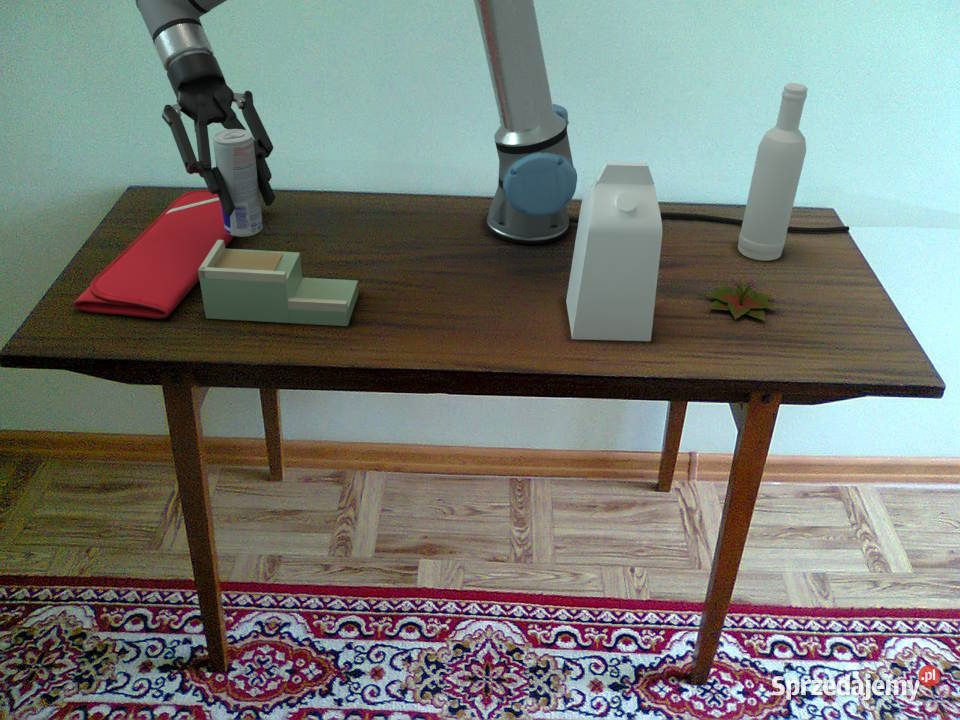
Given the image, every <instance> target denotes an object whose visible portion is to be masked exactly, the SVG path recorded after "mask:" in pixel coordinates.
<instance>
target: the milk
mask: <svg viewBox="0 0 960 720" xmlns="http://www.w3.org/2000/svg"><path fill="white" fill-rule="evenodd" d="M580 203H581V204H580V210H579V216H578V218H579V222H578V223H577V229H576V235H575V242H574V249H573V253H572V261H571V268H570V274H569V281H568V286H567V292H566V299H565V302H566V310H567V316H568V322H569V329H570V336H571V340H581V341H582V340H583V341H584V340H586V341H592V340H593V341H621V342H622V341H623V342H624V341H625V342H651V341H652V335H653V323H654V315H655V306H656V298H657V297H656V295H657V287H658V278H659V268H660V261H661V260H660V259H661V250H662V243H663V242H662V241H663V221H662V217H661V215H660V213H661V209H660V205H659V200H658V194H657V190H656V186H655V182H654V179H653V176H652V173H651V171H650V167H649V165H648V162H647V161H646V162H643V161H641V162H640V161H613V160H612V161H608V160H606V161H605V162H604V164H603V166H602V168H601V169H600V171H599V173H598V175H597V177H596V179H595V180H594V181H593V182H592V184H591V185H590V186H589V187H588V189H587V190H586V191H585V192H584V194H583V196H582V198H581V202H580Z"/></svg>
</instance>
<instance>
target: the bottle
mask: <svg viewBox="0 0 960 720" xmlns="http://www.w3.org/2000/svg"><path fill="white" fill-rule="evenodd" d="M807 92H808V87H807V86H806V85H805V84H803V83H796V82H790V83H786V84H785V85H784V88H783V91H782V93H781V101H780V106H779V110H778V114H777V119H776V123H775V126H773V127H772V128H770V129H769V130H767V131H766V132H765V133H764V135H763V136H762V138H761V141H760V142H759V144H758V147H757V153H756V157H755V162H754V166H753V171H752V176H751V180H750V185H749V190H748V196H747V201H746V205H745V210H744V213H743V219H742V220H743V223H742V225H741V227H740V228H741V229H740V232H739V235H738V239H737V240H738V244H737V250H738V252H740V254H741V255H742V256H744V257H747V258H748V259H751V260H754V261H762V262H770V261H775V260H777V259H779V258H781V256H782V254H783V250H784V247H785V244H786V237H787V233H788V231H787V229H788V226H790V220H791V216H792V212H793V209H794V203H795V199H796V195H797V191H798V187H799V183H800V179H801V175H802V171H803V166H804V162H805V158H806V154H807V143H806V142H807V141H806V137H805V136H804V134H803V133H802V132H801V130H800V129H799V127H800V122H801V119H802V115H803V110H804V106H805V101H806V100H807V97H808V93H807Z"/></svg>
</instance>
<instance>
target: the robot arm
mask: <svg viewBox="0 0 960 720" xmlns="http://www.w3.org/2000/svg"><path fill="white" fill-rule="evenodd" d="M134 1H135V5H136V8H137V10H138V11H139V12H140V15H141V17H142V19H143V22H144V24H145V26H146V29H147V31H148V33H149V36H150V37H151V40H152V42H153V45H154V48H155V51H156V52H157V55H158V57H159V60H160V62H161V64H162V67H163V70H165V71H166V77H167V79H168V81H169V83H170V86H171V88H172V90H173V93H174V95H175V97H176V102H175V103H173V104H172V105H171V104H165V105H164V107H163V111H162V114H161V118H162V120H163V121H164V122H165V123H166V125H167V126H168V127H169V128H170V130H171V133H172V136H173V139H174V142H175V144H176V147H177V149H178V152H179V155H180V157H181V160H182V163H183V166H184V168H185V171H186V173H187V174H188V175H193V174H198V175H199V177H201V178H203V179H204V182H205V185H206V187H207V190H209V192H210V193H211V194H212V195H213V194H217V195H218V197H219V200H220V202H221V204H222V207H223V209H224V212H225V214H226V216H229V215H232V213H233V211H234V209H235V206H234V203H233V201H232V198H231V196H230V194H229V191H228V189H227V187H226V184H225V182H224V180H223V177H222V175H221V172H220V170H219V168H218V167H216V166H214V167H213V166H212V165H213V164H212V157H211V147H210V137H209V128H208V126H209V125H212V124H221V126H222V127H223V128H224V130H229V129H242V130H247V128H246V127H245V126H244V125H243V123H242V122H241V120H239V119H238V116H237V114H236V111H235V110H234V109H233V108H232V105H233V103H235V104H236V106H237V108H238V110H241V114H242V117H243V119H244V121H245V123H246V125H247V127H248V129H249V132H251V133H252V138H253V141H254V150H255V159H256V169H257V178H258V187H259V194H260V195H261V197H262V200H263V202H264V204H265V206H266V207H270V206H272V204H273V203H274V201H275V200H276V195H275V193H274V190H273V187H272V186H271V183H270V181H271V179H272V175H273V174H272V173H271V170H270V168H269V167H270V166H269V165H268V162H267V160H266V159H268V158H269V157H270V155H271V154H272V152H273V150H274V145H273V142H272V140H271V139H270V136H269V135H268V131H267V130H266V128H265V126H264V124H263V122H262V120H261V118H260V116H259V114H258V112H257V109H256V107H255V105H254V95H253V92H252V91H250V90H245V91H244V93H242V92H234V91H233V89H232V88H230V87H229V85H228V84H227V82H226V79H225V75H224V74H223V71H222V69H221V67H220V64H219V62H218V60H217V58H216V56H215V53H214V50H213V48H212V45H211V43H210V41H209V39H208V35H207V34H206V32H205V29H204V27H203V25H202V21H201V19H200V18H201V17H203V16H204V15H206V14H208V13H209V12H211V11H212V10H213V9H215V8H217V7H218V6H220V5H222V4H223V3H225V2H226V1H228V0H134ZM473 3H474V8H475V13H476V17H477V22H478V26H479V31H480V35H481V40H482V44H483V49H484V53H485V58H486V62H487V67H488V72H489V76H490V80H491V85H492V89H493V94H494V99H495V104H496V109H497V112H498V118H499V124H500V125H499V127H498V128H497V130H496V131H495V133H494V135H493V139H494V144H495V148H496V152H497V157H498V180H497V181H498V182H497V183H498V184H497V188H496V191H495V192H494V196H493V199H492V201H491V204H490V205H489V209H488V211H487V215H486V228H487V230H488V231H489V233H490V234H491V235H493V236H495V237H496V238H498V239H500V240H503V241H505V242H509V243H512V244H518V245H529V246H531V245H532V246H534V245H544V244H545V245H546V244H550V243H554V242H556V241H559V240H561V239H563V238H564V237H565V236H567V234H568V232H569V226H570V223H577V224H578V222H579V217H570V216H569V212H568V208H567V205H568V204H570V202H571V200H573V198H574V196H575V194H576V190H577V183H578V174H577V173H578V172H577V170H576V168H575V167H574V161H573V156H572V150H571V145H570V140H569V133H568V125H569V124H570V122H569V121H570V120H569V111H568V110H567V109H566V107H564V106H563V105H559V104H556V103H553V100H552V93H551V89H550V83H549V78H548V73H547V66H546V61H545V55H544V51H543V45H542V41H541V35H540V30H539V24H538V19H537V12H536V8H535V7H536V6H535V2H534V0H473ZM182 114H184V115H185V116H187V117H188V118H189V119H191V120H192V121H193V128H194V133H195V138H196V147H197V157H196V154H195V152H194V149H193V146H192V143H191V141H190V137H189V135H188V132H187V129H186V128H185V124H184V122H183V120H182ZM197 158H198V159H197ZM660 215H661V218H679V219H680V218H681V219H695V220H704V221H705V220H707V221H712V222H713V221H714V222H720V223H728V224H735V225H741V226H742V223H743V219H738V218H732V217H723V216H716V215H708V214H699V213H689V212H688V213H687V212H660ZM849 231H850V226H848V225H847V226H831V227H803V226H802V227H801V226H791V225H788V229H787V232H797V233H798V232H799V233H839V232H849Z"/></svg>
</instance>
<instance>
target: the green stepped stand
mask: <svg viewBox="0 0 960 720" xmlns="http://www.w3.org/2000/svg"><path fill="white" fill-rule="evenodd" d="M198 272H199V278H200V279H199V284H200V290H201V298H202V301H203V309H204V315H205V319H212V320H228V321H246V322H261V323H262V322H266V323H279V324H280V323H281V324H282V323H283V324H301V325H318V326H334V327H335V326H337V327H349V324H350V320H351V318H352V315H353V312H354V308H355V305H356V303H357V300H358V298H359V297H358V296H359V295H360V294H359V293H360V292H359V280H356V279H355V280H353V279H339V278H338V279H336V278H321V277H319V278H316V277H303V269H302V259H301V252H299V251H298V252H297V251H296V252H295V251H293V252H292V251H279V250H277V251H276V250H262V249H261V250H260V249H240V248H226V247H225V244H224V240H217V242H216V243H215V245H214V246H213V248H212V249H211V251H210V252H209V254H208V255H207V257H206V259H205V260H204V262H203V263H202V265H201V266H200V268H199V269H198Z"/></svg>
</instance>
